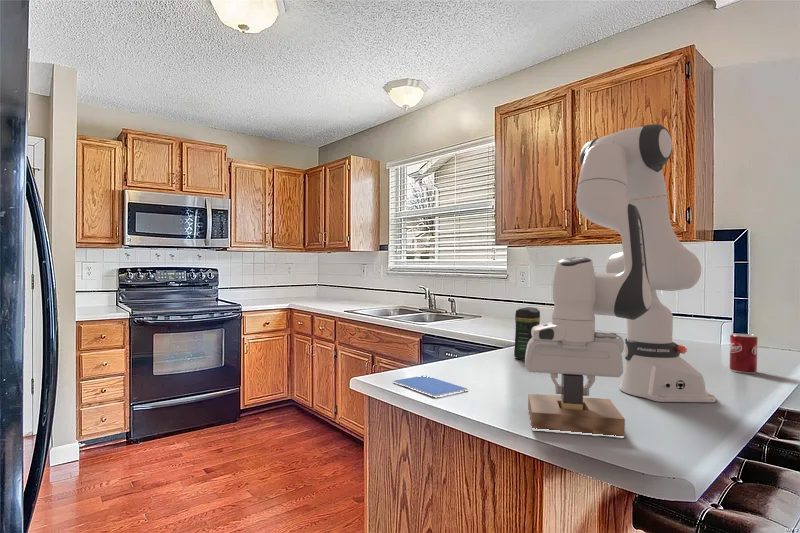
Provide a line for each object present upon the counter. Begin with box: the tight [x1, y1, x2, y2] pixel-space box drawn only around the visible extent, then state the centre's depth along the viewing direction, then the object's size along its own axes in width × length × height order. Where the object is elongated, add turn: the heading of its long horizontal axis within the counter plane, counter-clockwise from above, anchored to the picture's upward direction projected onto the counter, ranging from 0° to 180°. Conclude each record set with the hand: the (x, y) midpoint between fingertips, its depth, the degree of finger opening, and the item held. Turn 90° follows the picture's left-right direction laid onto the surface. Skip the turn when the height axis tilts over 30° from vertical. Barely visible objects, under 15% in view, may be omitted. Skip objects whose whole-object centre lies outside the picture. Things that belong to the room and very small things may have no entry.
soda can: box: [729, 332, 759, 375], centre depth 155 cm, size 7×7×12 cm
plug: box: [560, 374, 584, 410], centre depth 104 cm, size 4×4×12 cm
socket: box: [527, 393, 626, 437], centre depth 104 cm, size 18×14×4 cm
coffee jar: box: [513, 306, 541, 361], centre depth 173 cm, size 10×8×19 cm
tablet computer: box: [392, 375, 469, 396], centre depth 133 cm, size 19×13×1 cm, turn 36°
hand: (571, 394), depth 104 cm, fingers closed on plug, 4 cm apart
